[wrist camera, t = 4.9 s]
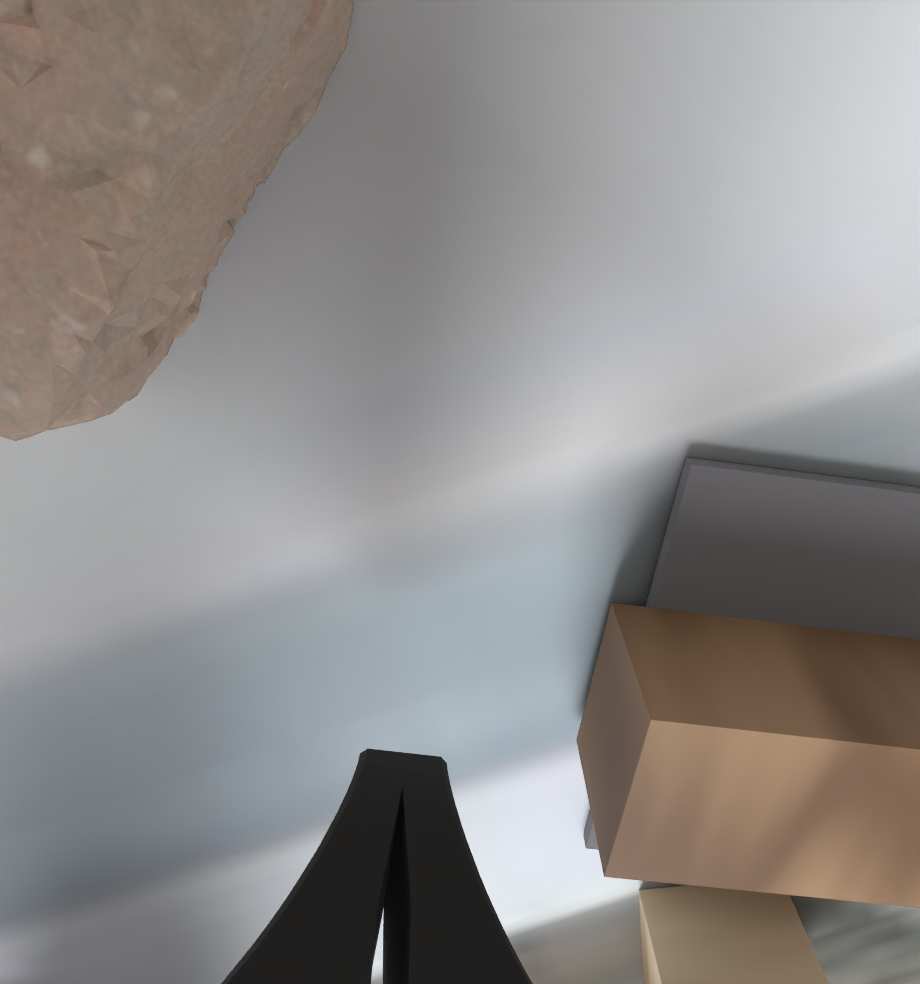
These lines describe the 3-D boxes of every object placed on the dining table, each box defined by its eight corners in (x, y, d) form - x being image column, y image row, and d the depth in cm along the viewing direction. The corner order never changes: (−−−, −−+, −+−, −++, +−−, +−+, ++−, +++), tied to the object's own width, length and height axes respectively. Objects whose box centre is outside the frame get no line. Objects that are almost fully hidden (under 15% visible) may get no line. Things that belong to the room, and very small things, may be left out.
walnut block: (576, 739, 18) (876, 772, 18) (604, 876, 14) (970, 912, 15) (611, 602, 16) (937, 641, 17) (651, 719, 13) (1055, 764, 13)
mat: (972, 873, 20) (982, 887, 20) (583, 834, 19) (585, 848, 19) (1169, 519, 16) (1185, 528, 16) (685, 456, 15) (691, 464, 15)
